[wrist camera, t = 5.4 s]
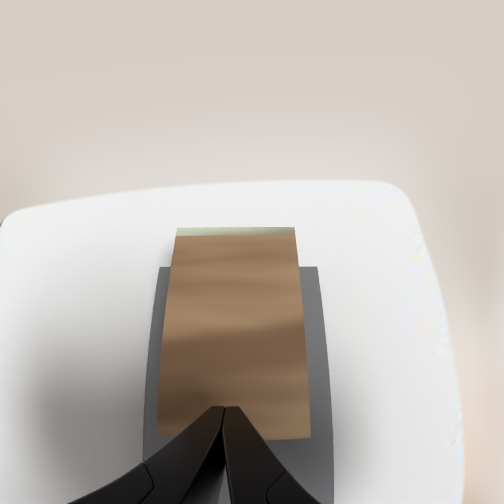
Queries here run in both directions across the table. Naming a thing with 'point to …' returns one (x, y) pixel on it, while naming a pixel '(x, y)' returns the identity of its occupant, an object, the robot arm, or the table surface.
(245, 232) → the walnut block
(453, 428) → the table surface
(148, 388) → the felt mat
